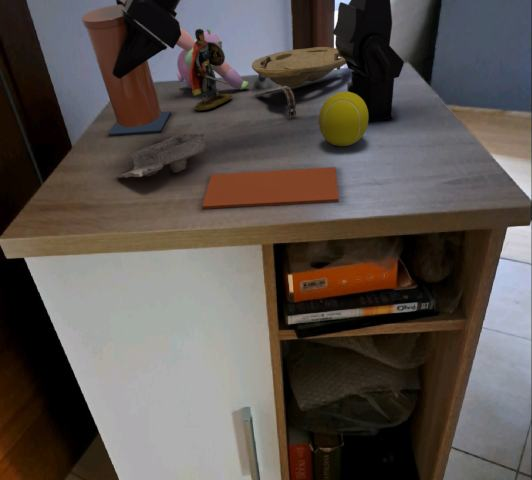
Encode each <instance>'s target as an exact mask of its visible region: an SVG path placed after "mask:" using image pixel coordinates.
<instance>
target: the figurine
mask: <svg viewBox="0 0 532 480" xmlns="http://www.w3.org/2000/svg"><path fill="white" fill-rule="evenodd" d="M194 32H195V33H194V35H195V39H197V41H196V42H195V43H194V46H193V52H192V63H191V69H190V83H191V88H190V89H191V91H192V95H193V96H194V97H195V96H199V95H201V99H202V100H201V101H199V102H197V104H195V105H194V110H196V111H206V110H210V109H214V108H216V107H217V106H220V105H222V104H224V103H225V102H228V101H230V100H231V99H232V98H233V95H232V94H231V93H226V92H225V93H219V91H218V89H217V82H218V83H222V84H224V85H229V83H227V82H226V81H225V80H223V79H222V80H221V79H218V78H217V77H216V74H215V71H214V70H213V69H212V67H211V64H212V65H214V66H221V65H222V64H223V63H224V61H225V60H226V55H225V52H224V50H223V47H222V48H221V47H220V46H219V45H218V44H216V43H214V42H207V41H205V36H204V32H205V31H204V30H203V29H202V28H197V29H196V30H195V31H194ZM225 62H226V61H225ZM207 90H208V92H209V93H211V92H213V95H212V96H211V97H208V94H207Z"/></svg>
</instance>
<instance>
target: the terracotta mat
mask: <svg viewBox="0 0 532 480" xmlns="http://www.w3.org/2000/svg"><path fill="white" fill-rule="evenodd" d="M337 179H338V178H337V169H336V166H331V167H329V166H328V167H316V168H315V167H314V168H313V167H312V168H298V169H281V170H279V169H278V170H267V171H266V170H263V171H246V172H232V173H231V172H230V173H216V174H211V175H210V178H209V182H208V185H207V188H206V191H205V195H204V198H203V202H202V205H201V209H202V210H209V209H211V210H212V209H225V208H228V209H229V208H245V207H246V208H247V207H249V208H250V207H266V206H281V205H282V206H284V205H285V206H287V205H301V204H304V205H305V204H320V203H322V204H323V203H324V204H325V203H339V200H340V198H339V197H340V196H339V187H338V180H337Z"/></svg>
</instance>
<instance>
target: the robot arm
mask: <svg viewBox="0 0 532 480" xmlns="http://www.w3.org/2000/svg"><path fill="white" fill-rule="evenodd" d="M180 2H181V0H115V4H116V5H122V4H126V6H125V11H126V12H127V13H128V14H129V15H128V14H127V13H126V12H125V11H123V10H122V16H123V20H124V24H125V28H126V32H125V35H124V38H123V41H122V44H121V47H120V50H119V53H118V56H117V59H116V62H115V65H114V68H113V71H112V73H113V75H114V76H115V77H117V78H118V79H120V78H122V77H123V76H125V75H126V74H128V73H129V72H131V71H132V70H134V69H135V68H136V67H138V66H139V65H141V64H142V63H144V62H145V61H147V60H148V61H149V60H150V59H151V58H153V57H155V56H156V55H157V54H160V53H161V52H162V51H166V50H167V49H168V48H171V49H172V50H173V49H175V47H176V46H177V45H176V43H177V42H178V40H179V38H180V36H181V30H180V28H181V25H180V21H179V20H178V19H177V18H176V17H177V15H178V13H177V12H176V9H177V8H178V7H179V4H180ZM391 3H392V2H391V0H350V1H349V3H345V2H342V1H340V2H339V5H338V9H337V20H336V23H335V27H334V28H333V31H332V35H334V36H335V40H334V41H335V43H334V45H335V48H337V50H338V52H339V54H340V55H341V56H342V57H343V58H344V59H345V60H346V64H345V65H346V66H347V67H346V68H347V69H349V70H351V74H350V75H351V76H350V81H349V82H347V83H346V84H347V88H346V89H347V90H346V92H352V93H354V94H357V95H358V96H359V97H361V98H362V99H363V101H364V102H365V104H366V106H367V109H368V116H369V119H368V122H376V121H379V122H380V121H391V120H394V113H393V97H394V87H395V79H397V78H399V77H400V76H401V73H402V71H403V68H404V64H405V61H404V60H403V59H402V57H401V56H400V55H399V54H398V53H397V52H396V51H395V50H394V49H393V48H392V46H391V38H392V37H391V36H392V29H393V14H392V4H391Z"/></svg>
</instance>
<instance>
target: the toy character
mask: <svg viewBox="0 0 532 480" xmlns="http://www.w3.org/2000/svg"><path fill="white" fill-rule="evenodd" d="M180 30H181V36H180V38H179V40H178V42H177V43H176V45H175V46H177V47H179V48H181V51H180V52H179V54H178V57H177V61H176V66H177V69H178V70H177V71H176V76H177V79H178V81H179V82H184V81H185V82H186V84H185V85H186V87H187V88H189V89H192V88H191V83H190V69H191V63H192V52H193V46H194V43H195V42H196V41H197V39H196V38H193V37H192V36H191V34H190V33H189V32H187V31H186V30H185V29H184V28H182V27H180ZM204 36H205V41H207V42H214V43H216V44H218V45H219V46H220V47H221V48H222V49H223V40H222V39H221V38H220V37H219V36H218V35H217V34H215V33H214V32H212V31H211V29H210V28H207V29H206V30H205V31H204ZM211 67H212V69H213V71H214V73H216V74H218V76H219V77H221V78H222V79H223V81H225V82H227V83H229V84H228V85H229V86H231V87H232V88H234V89H239V90H244V89H246V88H247V87H248V86H249V85H250V83H249V82H248V81H247V80H243V79H242V77H241V75H240V73H239V72H238V71H236V69H234V68H232V66H231V65H230V64H229V63H228V62H227V61H224V63H223V64H222V65H221V66H214V65H212V64H211Z"/></svg>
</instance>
